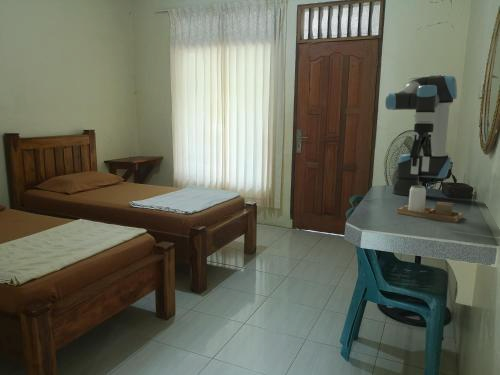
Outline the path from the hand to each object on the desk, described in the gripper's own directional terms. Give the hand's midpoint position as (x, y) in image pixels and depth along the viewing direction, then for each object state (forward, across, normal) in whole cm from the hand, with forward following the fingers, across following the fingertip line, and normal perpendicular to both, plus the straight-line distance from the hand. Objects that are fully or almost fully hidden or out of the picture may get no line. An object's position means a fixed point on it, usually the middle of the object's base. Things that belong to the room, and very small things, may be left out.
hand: (419, 172), depth 167 cm
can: (+18, 0, 0) cm, 18 cm away
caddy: (+19, 0, +6) cm, 19 cm away
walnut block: (+18, 0, +11) cm, 21 cm away
